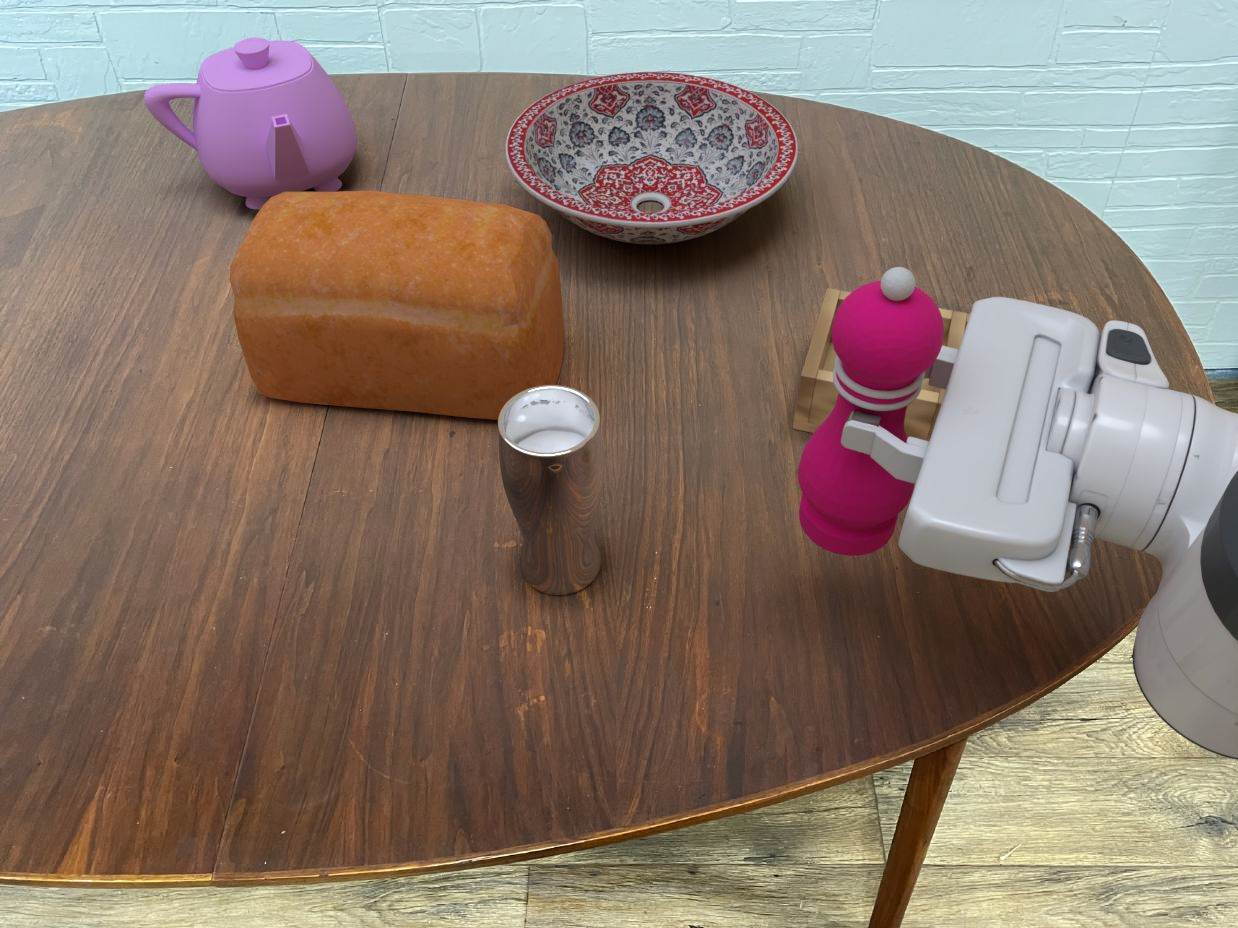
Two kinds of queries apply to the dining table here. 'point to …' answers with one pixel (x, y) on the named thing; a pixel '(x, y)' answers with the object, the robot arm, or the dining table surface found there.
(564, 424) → the metal cup
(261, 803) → the dining table surface
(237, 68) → the teapot
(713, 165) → the ceramic bowl
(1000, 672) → the dining table surface
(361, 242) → the bread
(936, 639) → the dining table surface
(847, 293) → the divided wooden box
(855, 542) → the pepper mill
